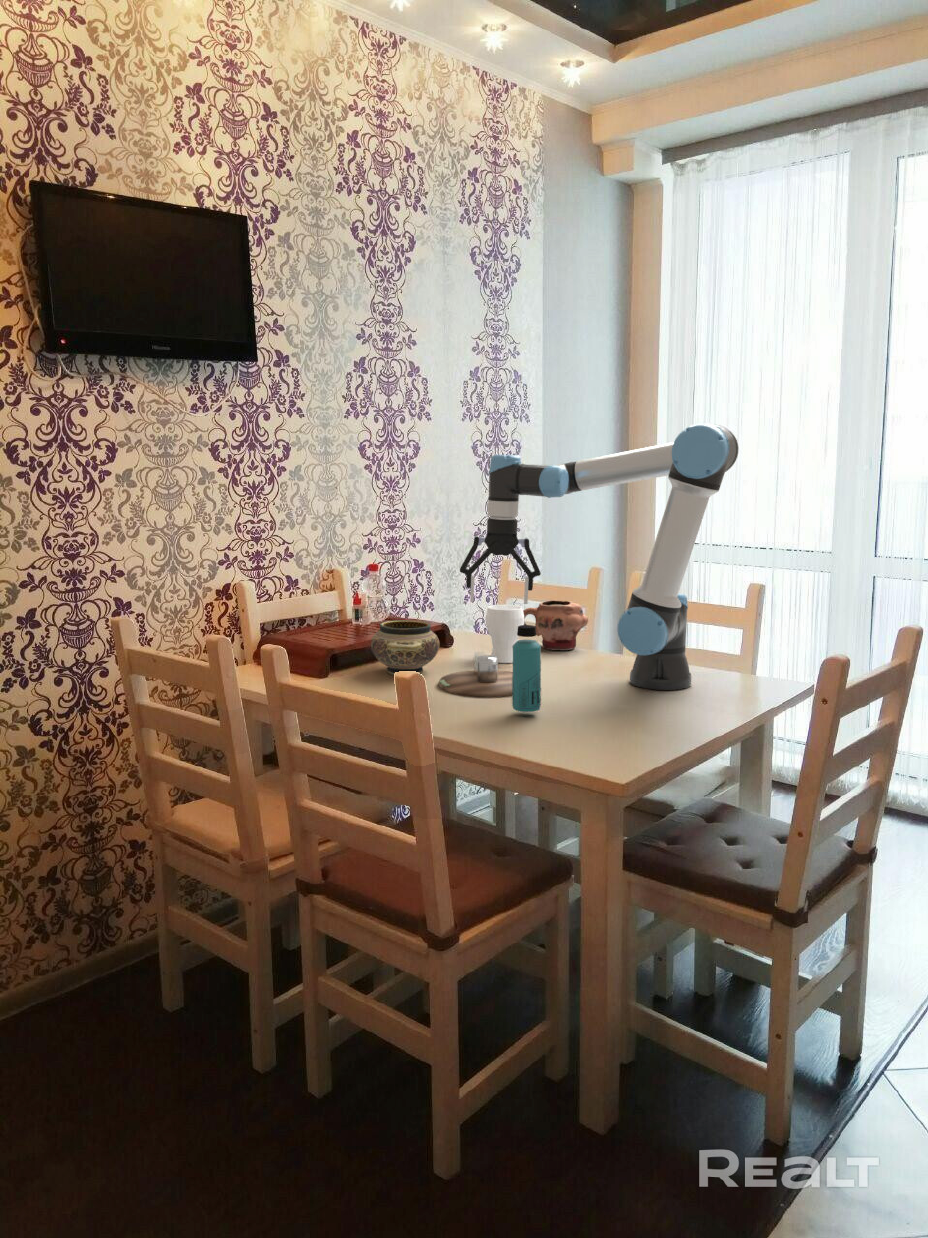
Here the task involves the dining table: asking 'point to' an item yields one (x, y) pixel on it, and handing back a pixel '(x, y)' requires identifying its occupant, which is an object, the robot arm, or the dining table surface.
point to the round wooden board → (477, 684)
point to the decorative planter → (558, 623)
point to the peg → (486, 667)
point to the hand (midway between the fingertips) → (498, 602)
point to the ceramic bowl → (405, 645)
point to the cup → (504, 629)
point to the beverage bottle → (526, 671)
